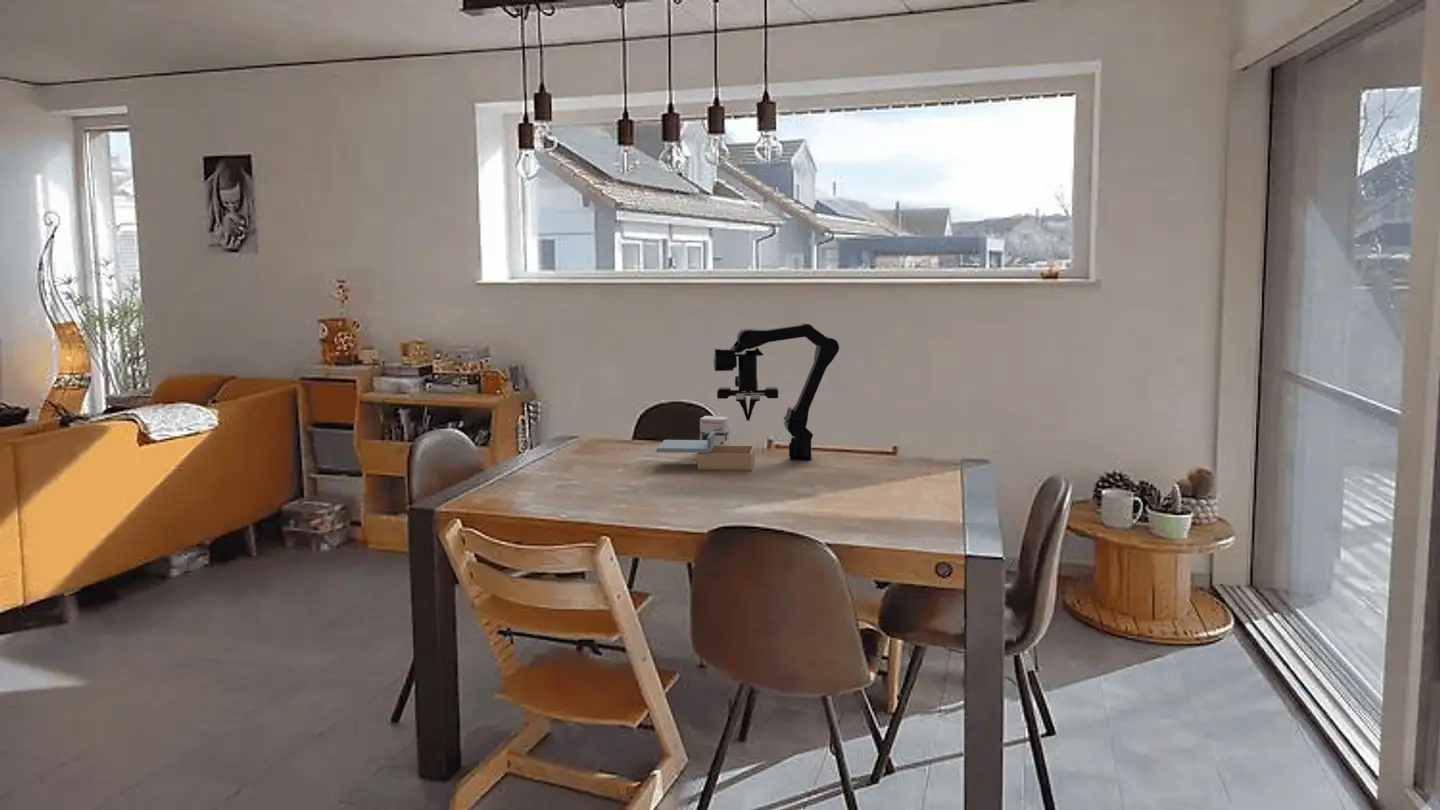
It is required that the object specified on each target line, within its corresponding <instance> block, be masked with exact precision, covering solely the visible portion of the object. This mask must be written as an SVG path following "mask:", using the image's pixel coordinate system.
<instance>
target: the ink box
mask: <svg viewBox="0 0 1440 810" xmlns="http://www.w3.org/2000/svg"><path fill="white" fill-rule="evenodd" d="M729 419H730V418H729V417H728V416H719V415H717V416H714V415H704V416H702V417H701V418H699V440H707V437H708V436H709V434H710V433H711V432H715V445H730V444H729V443H730V433H729V432H730V422H729V421H730V420H729Z"/></svg>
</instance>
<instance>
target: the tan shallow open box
mask: <svg viewBox="0 0 1440 810" xmlns="http://www.w3.org/2000/svg"><path fill="white" fill-rule="evenodd" d="M755 463H756V445H753V444H752V445H747V444H746V445H745V444H744V445H737V444H736V445H734V444H732V445H731V444H729V445H715V446H714V447H713V449H712V450H711V452H710V453H697V471H719V472H720V471H722V472H723V471H724V472H725V471H728V472H730V471H731V472H732V471H734V472H736V471H737V472H740V471H741V472H752V470H753V467H754V465H755Z"/></svg>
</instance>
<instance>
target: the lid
mask: <svg viewBox="0 0 1440 810" xmlns="http://www.w3.org/2000/svg"><path fill="white" fill-rule="evenodd" d="M714 446H715V432H711V433H710V434H709V436H708V437H707V440H700V439H697V440H696V439H664V440H662V442H661V443H660V444H659V445H658V446H657V447H656V453H681V454H682V453H687V454H688V453H691V454H692V453H693V454H698V453H710V452H711V450H712V449H713V447H714Z"/></svg>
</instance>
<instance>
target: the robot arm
mask: <svg viewBox="0 0 1440 810" xmlns="http://www.w3.org/2000/svg"><path fill="white" fill-rule="evenodd" d="M799 338H806V339H807V340H808V341H810V343H812V344H813V345H815V346H816V347H815V350H814V357H813V364H812V366H811V368H810V371H809V372H808V375H807V378H806V381H805V382H804V385H803V388H802V389H801V392H800V394H799V397H798V399H797V401H796V404H795V405H794V406H793V407H788V408H787V411H786V413H785V416H784V417H783V420H784V423H783V425H784V426H783V427H784V428H785V430H786V431H787V432H788V433H789V434H790V436H791V439H790V442H789V443H788V456H789V457H790V460H791V461H793V460H796V461H797V460H805V461H806V460H807V461H808V460H809V461H811V460H812V457H813V455H812V439H813V437H814V435H813V432H811V431H810V430H809V429H808V428H807V424H808V421H809V420H808V419H809V412H810V411H809V410H810V408H811V405H812V402H813V400H814V398H815V396H816V394H817V390H818V388H819V386H820V384H821V382H822V379H823V377H824V375H825V373H826V369H827V368H828V366H830V364H831V363H833V362H832V361H833V360H834V359H835V358H836V356H837V354H838V352H839V351H840V345H839V342H838V341H837V340H836V339H835V338H832V337H830V336H825V335H824V334H823V333H822V332H820V331H819V330H818V329H816V328H815V327H813V326H812V324H809V323H806V322H804V323H802V324H797V325H790V326H783V327H776V328H769V329H759V328H758V329H755V328H754V329H753V328H743V329H741V330H740V331H739V332H738V333H737V337H736V341H735V342H734V344H733V345H732V346H731V348H729V349H728V348H725V349H720V348H715V349H714V356H713V370H714V372H733V371H734V369H736V368H737V367H738V375H737V376H735V377H734V386H735V388H738V389H732V388H731V387H725V386H724V387H719V388H718V389H717V391H716V398H717V399H718V400H719V399H720V400H721V399H722V400H723V399H725V400H726V399H729V397H735V402H739V404H740V406H741V409H742V411H743V413H744V417H745V419H746V421H748V422H750V421H751V417H752V413H753V410H754V407H755V405H756V403H757V402H760V400H761V397H762V396H763V397H766V398H767V399H779V394H780V393H779V391H780V390H779V388H778V387H776V386H774V387H773V386H765V389H759V382H758V357H761V356H764V353H763V352H762V351H761V350H760V349H759V347H761V346H763V345H765V344H767V343H772V342H779V341H786V340H793V339H799ZM754 348H755V349H754ZM743 352H744V353H743ZM737 359H738V360H737ZM747 397H750V398H749V407H748V402H747Z"/></svg>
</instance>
